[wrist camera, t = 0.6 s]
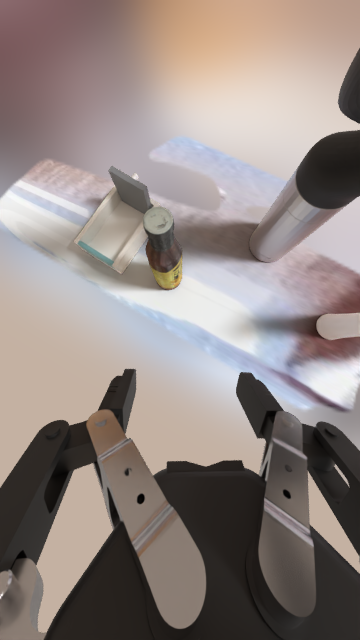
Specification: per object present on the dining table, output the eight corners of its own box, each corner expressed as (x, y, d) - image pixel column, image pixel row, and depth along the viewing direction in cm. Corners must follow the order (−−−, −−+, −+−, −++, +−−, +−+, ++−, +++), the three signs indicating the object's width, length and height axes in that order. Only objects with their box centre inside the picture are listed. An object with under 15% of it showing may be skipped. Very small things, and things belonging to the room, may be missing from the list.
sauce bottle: (180, 291, 41) (180, 249, 21) (155, 289, 41) (130, 245, 21) (183, 265, 42) (184, 201, 22) (157, 263, 42) (136, 197, 22)
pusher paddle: (128, 190, 43) (116, 158, 35) (157, 207, 42) (152, 179, 34) (121, 200, 42) (108, 170, 35) (150, 217, 42) (143, 190, 34)
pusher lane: (124, 194, 44) (118, 179, 40) (161, 216, 43) (159, 203, 39) (83, 250, 42) (73, 241, 38) (121, 274, 42) (115, 267, 38)
